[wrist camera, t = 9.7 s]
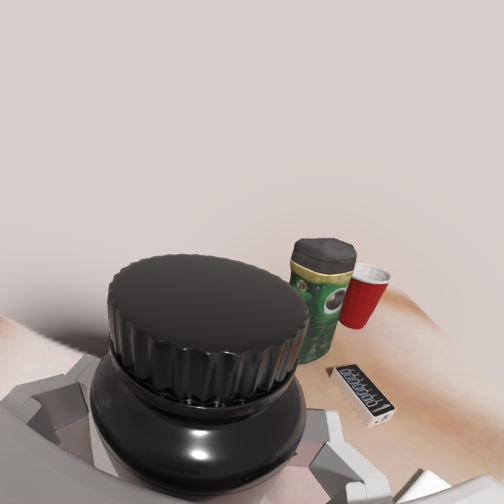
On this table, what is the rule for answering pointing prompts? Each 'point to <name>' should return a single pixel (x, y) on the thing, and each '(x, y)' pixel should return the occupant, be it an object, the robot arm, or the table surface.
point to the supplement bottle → (201, 378)
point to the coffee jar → (321, 289)
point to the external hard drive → (424, 486)
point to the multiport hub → (362, 394)
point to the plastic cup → (363, 294)
